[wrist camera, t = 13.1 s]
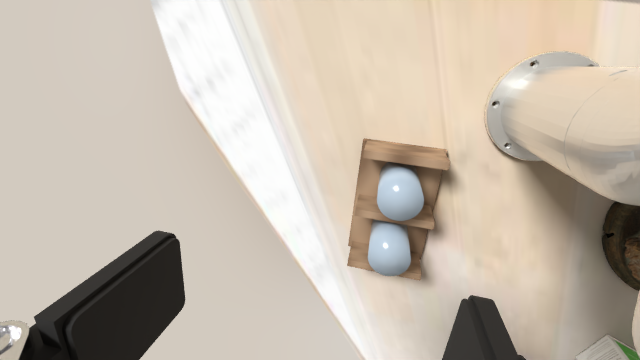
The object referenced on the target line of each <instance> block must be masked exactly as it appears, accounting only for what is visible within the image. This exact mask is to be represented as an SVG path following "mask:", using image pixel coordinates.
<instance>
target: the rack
mask: <svg viewBox="0 0 640 360" xmlns="http://www.w3.org/2000/svg"><path fill="white" fill-rule="evenodd" d="M446 155H447V150H446V149H438V148H431V147H423V146H416V145H408V144H401V143H393V142H386V141H378V140H371V139H363V145H362V152H361V159H360V166H359V173H358V180H357V187H356V194H355V202H354V209H353V216H352V223H351V230H350V237H349V244H348V246H351V249H350V254H349V258H348V264H347V266H351V267H356V268H361V269H366V270H371V271H375V270H374V269H373V268H372V267H371V266H370V264H369V261H368V251H369V242H370V233H371V225H372V221H373V219H376V220H381V221H387V222H393V223H398V224H404V225H407V228H408V237H409V246H410V256H411V262H410V265H409V267H408V269H407V270H406V271H405V272H403V273H402V274H399V275H396V276H400V277H405V278H410V279H415V280H420V279H421V275H422V274H421V267H420V261H419V260H420V259H421V255H422V251H423V247H424V243H425V239H426V235H427V231H428V229H432V230H433V228H434V224H435V221H434V218H433V214H432V211H433V207H434V203H435V199H436V195H437V191H438V187H439V183H440V179H441V175H442V171H443V170H449V166H450V160H449V159H448V157H447V156H446ZM387 162H395V163H402V164H409V165H414V167H415V168H416V170H417V173H418V177H419V181H420V185H421V188H422V192H423V196H424V204H423V207H422V209H421V211H420V212H419V213H418V214H417V215H416V216H415V217H413V218H412V219H409V220H405V221H396V220H392V219H390V218H388V217H386V216H385V215H384V214H383V213H382V212H381V211H380V209H379V207H378V204H377V194H378V184H379V174H380V171H381V169H382V167H383V166H384V165H385V164H386V163H387Z"/></svg>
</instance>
